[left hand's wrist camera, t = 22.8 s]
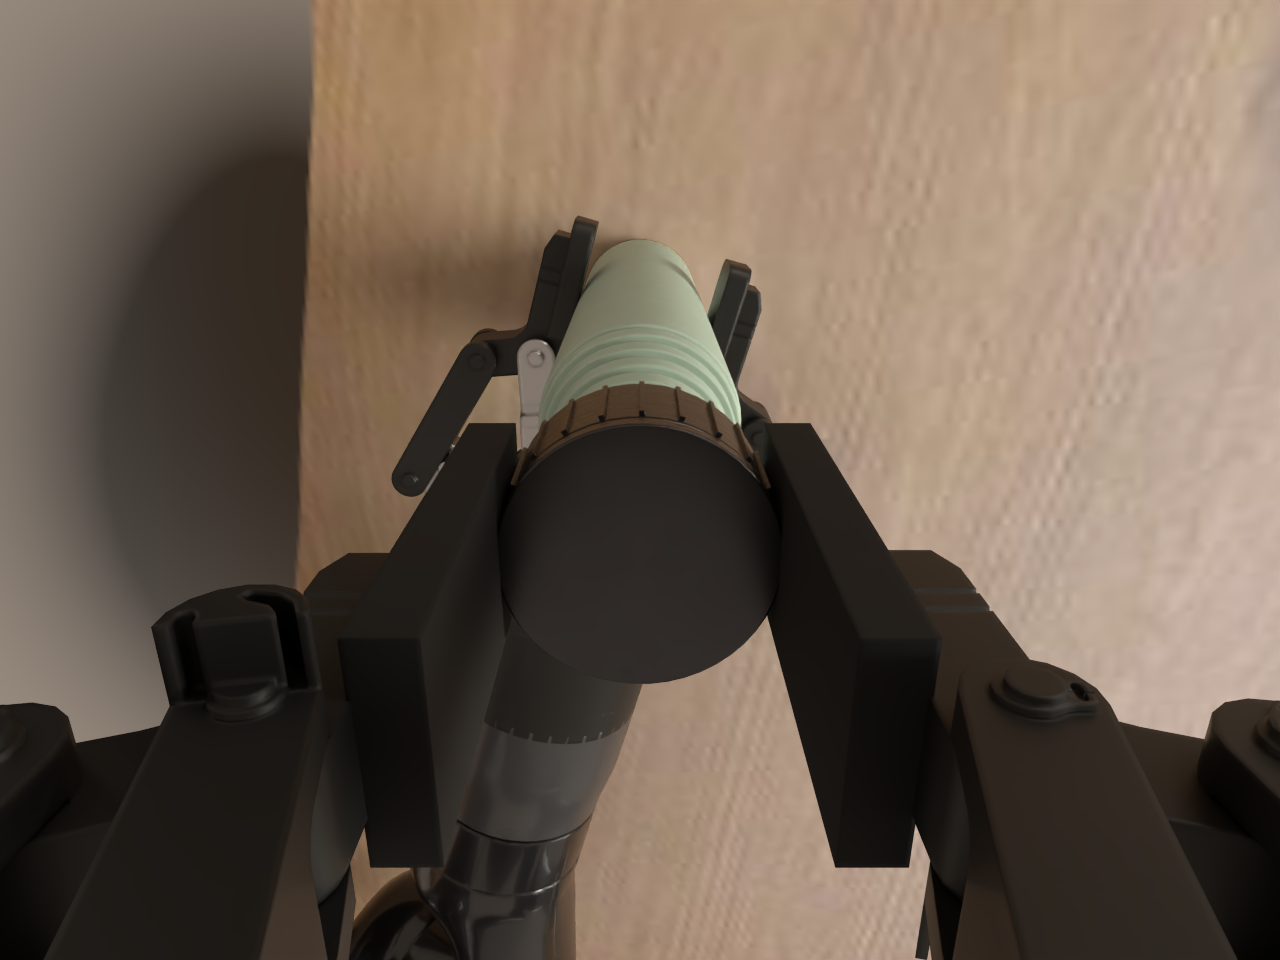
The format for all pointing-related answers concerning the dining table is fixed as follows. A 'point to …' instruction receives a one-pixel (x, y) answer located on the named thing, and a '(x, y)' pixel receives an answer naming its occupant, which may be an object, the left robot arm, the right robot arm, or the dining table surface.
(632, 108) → the dining table surface
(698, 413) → the cap
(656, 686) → the dining table surface
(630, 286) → the bottle
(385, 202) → the dining table surface
